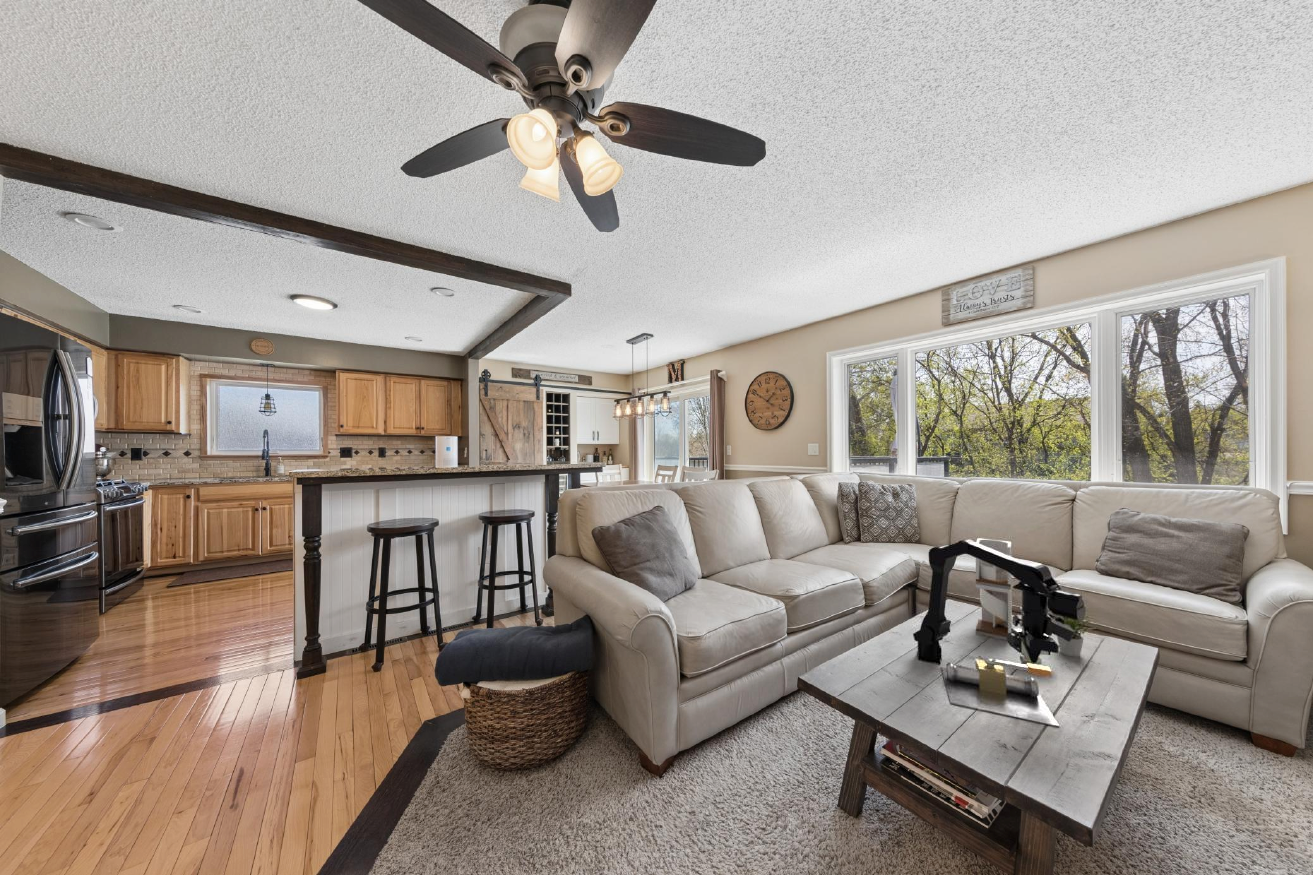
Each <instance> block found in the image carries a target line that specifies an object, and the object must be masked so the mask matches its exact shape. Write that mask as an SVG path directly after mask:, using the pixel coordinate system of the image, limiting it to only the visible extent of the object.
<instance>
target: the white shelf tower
mask: <svg viewBox="0 0 1313 875" xmlns="http://www.w3.org/2000/svg"><path fill="white" fill-rule="evenodd" d="M975 542H976V543H978V544H981V545H983V546H986V547H988V548H991V549H993V550H996V551H998V552H1001V553H1003V554H1006V555H1008V556H1011V557H1012V541H1007V540H999V539H998V540H997V539H989V538H981V537H979V538H977V539H976V541H975ZM975 588H976V589H979V602H980V604H981V619H980V618H978V619H977V623H976V628H975V633H976V635H980V636H986V637H989V638H995V639H999V640H1003V641H1007V634H1008V633H1011V628H1013V626H1012V625H1013V623H1012V621H1013V613H1012V612H1013V611H1012V610H1013V608H1012V606H1013V604H1012V601H1013V600H1012V590H1013V586H1012V575H1011V574H1010V573H1009V572H1007V571H1005V570H1003V569H1001V568H999V567H996V566H994V565H992V564H989V563H987V562H985V561H982V560H980V559H978V558H975Z"/></svg>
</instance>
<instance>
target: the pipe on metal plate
mask: <svg viewBox="0 0 1313 875" xmlns="http://www.w3.org/2000/svg"><path fill="white" fill-rule="evenodd" d="M974 661H975V662H974V663H975V664H974V666H975V668H973V667H969V666H962V665H958V664H954V663H953V662H947V663H946V667H942V666H941V667H940V670H941V673H942V677H943V682H944V685H945V687H946V692H947V695H948V700H949V703H950V705H954V706H958V707H963V708H967V709H973V710H976V711H981V712H986V713H990V714H995V715H1000V716H1005V717H1009V718H1014V719H1018V720H1023V721H1028V722H1032V723H1037V724H1042V725H1046V726H1050V727H1055V728H1060V725H1059V723H1058V721H1057V720H1056V718H1055V717H1054V715H1053V713H1052V712H1051V710H1050V709H1049V707H1048V705H1047V704H1046V702H1045V700H1044V699H1043V698H1042V696H1041V694H1040V689H1039V683H1038V681H1037V680H1036V679H1035V677H1031V676H1027V677H1024V676H1018V675H1017V676H1016V675H1013V674H1008V673H1006V670H1005V669H1004V666H999V665H989V664H986V663H985V662H984V660H981V659H976V658H975V660H974Z"/></svg>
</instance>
